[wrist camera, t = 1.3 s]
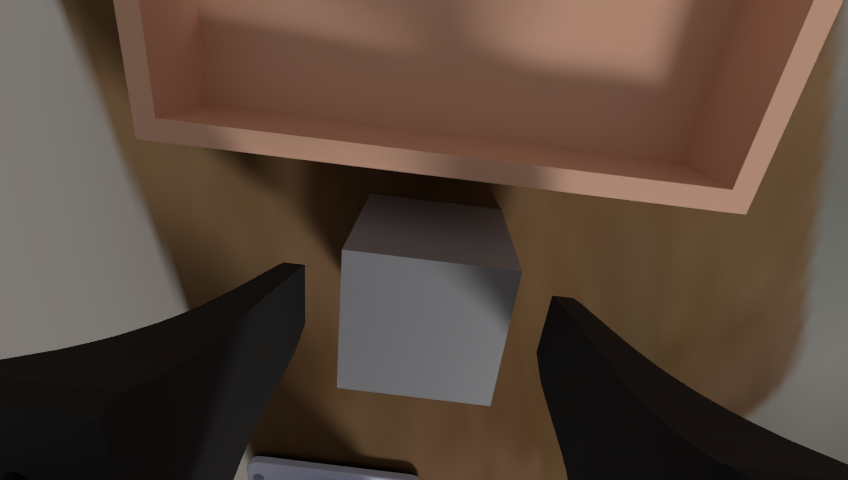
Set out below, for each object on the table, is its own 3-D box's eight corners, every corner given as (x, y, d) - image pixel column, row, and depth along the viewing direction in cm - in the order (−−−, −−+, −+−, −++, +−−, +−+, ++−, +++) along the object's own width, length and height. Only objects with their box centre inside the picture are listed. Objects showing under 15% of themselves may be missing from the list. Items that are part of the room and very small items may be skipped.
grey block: (479, 317, 17) (490, 406, 13) (363, 303, 17) (336, 387, 13) (500, 208, 15) (521, 271, 11) (370, 192, 15) (341, 249, 11)
